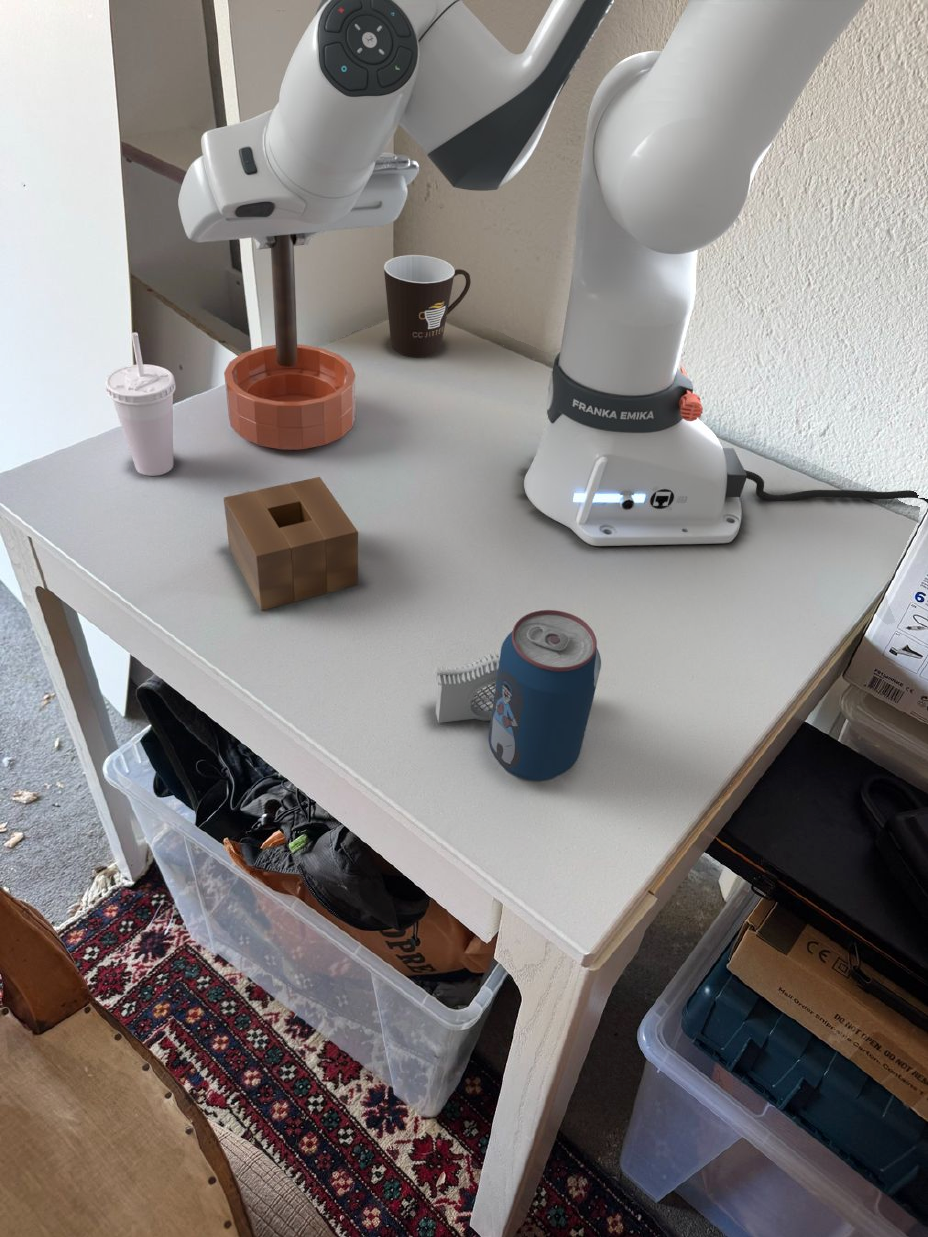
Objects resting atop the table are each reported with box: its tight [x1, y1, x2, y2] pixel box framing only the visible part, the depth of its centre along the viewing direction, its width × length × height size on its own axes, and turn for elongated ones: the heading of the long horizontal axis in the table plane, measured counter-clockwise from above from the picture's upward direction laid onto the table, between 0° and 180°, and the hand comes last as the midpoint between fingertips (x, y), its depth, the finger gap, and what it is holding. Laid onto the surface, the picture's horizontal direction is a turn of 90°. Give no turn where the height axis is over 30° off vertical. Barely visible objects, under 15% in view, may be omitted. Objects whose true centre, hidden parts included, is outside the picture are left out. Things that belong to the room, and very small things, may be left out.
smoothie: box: [104, 332, 177, 477], centre depth 90 cm, size 6×6×14 cm
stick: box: [270, 234, 298, 367], centre depth 91 cm, size 2×2×22 cm
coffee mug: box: [383, 254, 472, 358], centre depth 116 cm, size 12×9×10 cm
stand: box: [223, 476, 359, 611], centre depth 82 cm, size 9×9×6 cm
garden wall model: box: [434, 653, 501, 724], centre depth 71 cm, size 12×2×6 cm, turn 102°
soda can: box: [488, 609, 602, 783], centre depth 66 cm, size 7×7×12 cm
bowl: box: [223, 344, 357, 451], centre depth 101 cm, size 14×14×6 cm
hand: (279, 239), depth 90 cm, fingers closed on stick, 2 cm apart
